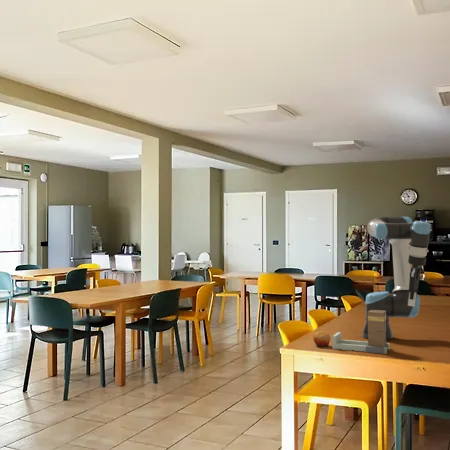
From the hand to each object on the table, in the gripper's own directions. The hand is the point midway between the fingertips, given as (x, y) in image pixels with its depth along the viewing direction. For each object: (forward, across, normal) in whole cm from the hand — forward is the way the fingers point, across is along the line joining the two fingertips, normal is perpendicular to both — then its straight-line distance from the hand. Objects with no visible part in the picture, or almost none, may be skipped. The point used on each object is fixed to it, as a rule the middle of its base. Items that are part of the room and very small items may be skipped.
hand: (411, 305), depth 253 cm
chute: (+23, -9, +18) cm, 30 cm away
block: (+22, -8, +11) cm, 26 cm away
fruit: (+26, -12, +36) cm, 46 cm away
